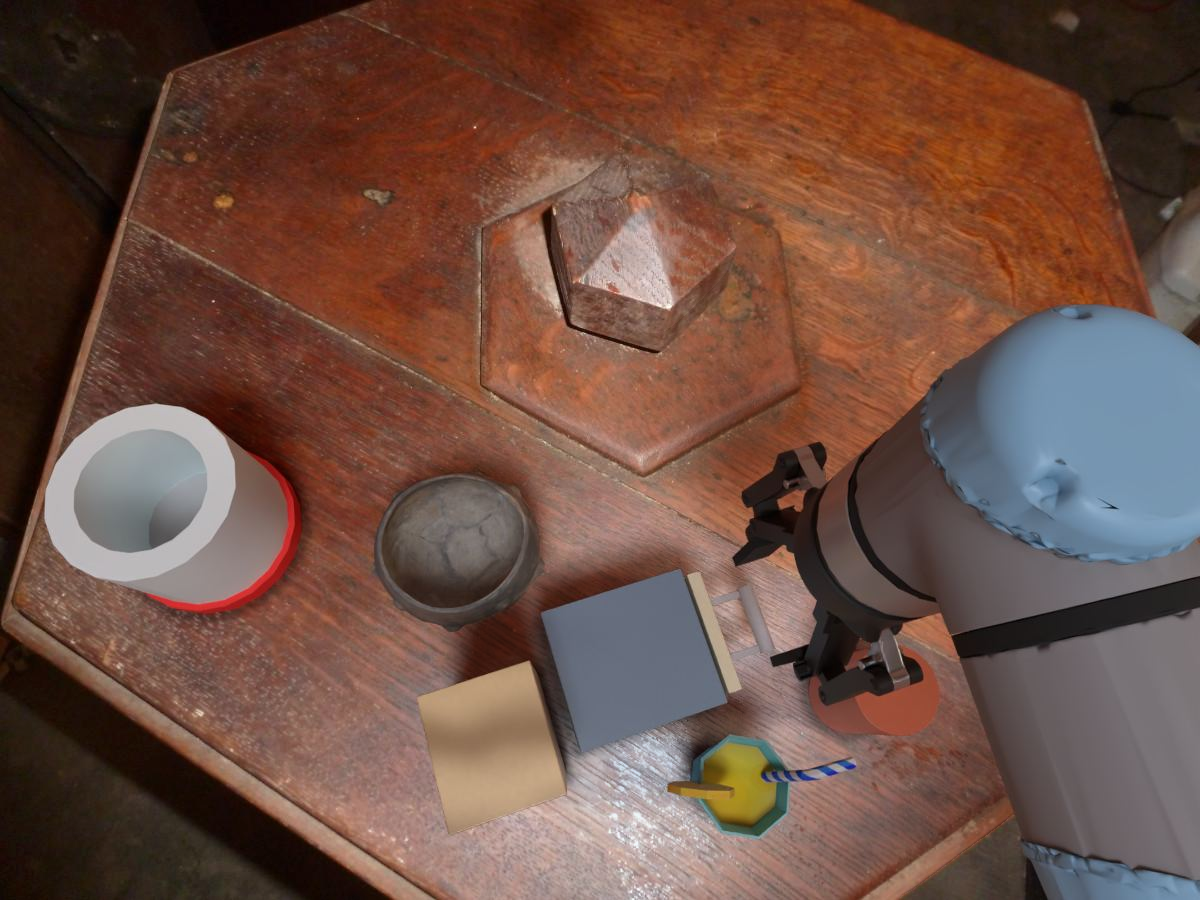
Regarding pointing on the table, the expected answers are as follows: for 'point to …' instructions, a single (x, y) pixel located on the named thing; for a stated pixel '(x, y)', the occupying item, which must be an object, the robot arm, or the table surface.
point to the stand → (492, 746)
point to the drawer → (714, 632)
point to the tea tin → (882, 705)
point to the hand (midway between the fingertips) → (769, 605)
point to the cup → (747, 784)
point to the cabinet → (632, 659)
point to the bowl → (457, 549)
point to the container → (172, 510)
